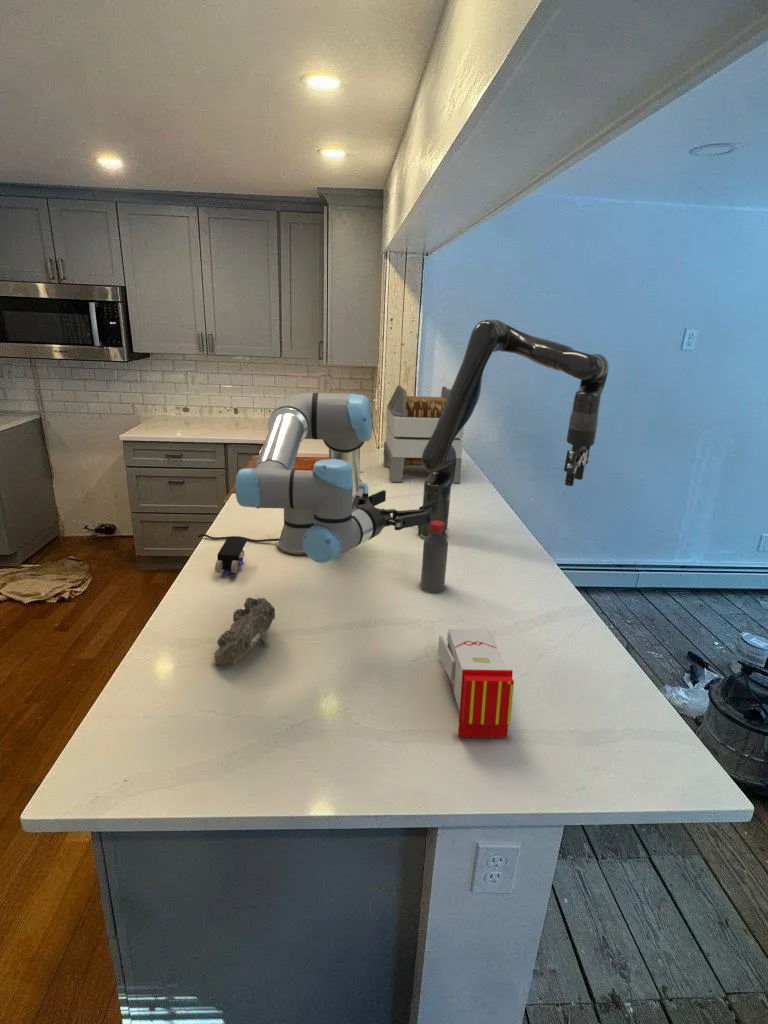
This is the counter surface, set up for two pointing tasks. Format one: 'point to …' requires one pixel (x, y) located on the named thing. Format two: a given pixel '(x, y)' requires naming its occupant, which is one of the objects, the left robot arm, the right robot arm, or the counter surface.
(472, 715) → the toy
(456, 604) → the counter surface
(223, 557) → the black toy car
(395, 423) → the grey boxy piece
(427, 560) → the bottle
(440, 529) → the cap
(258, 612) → the fossil
